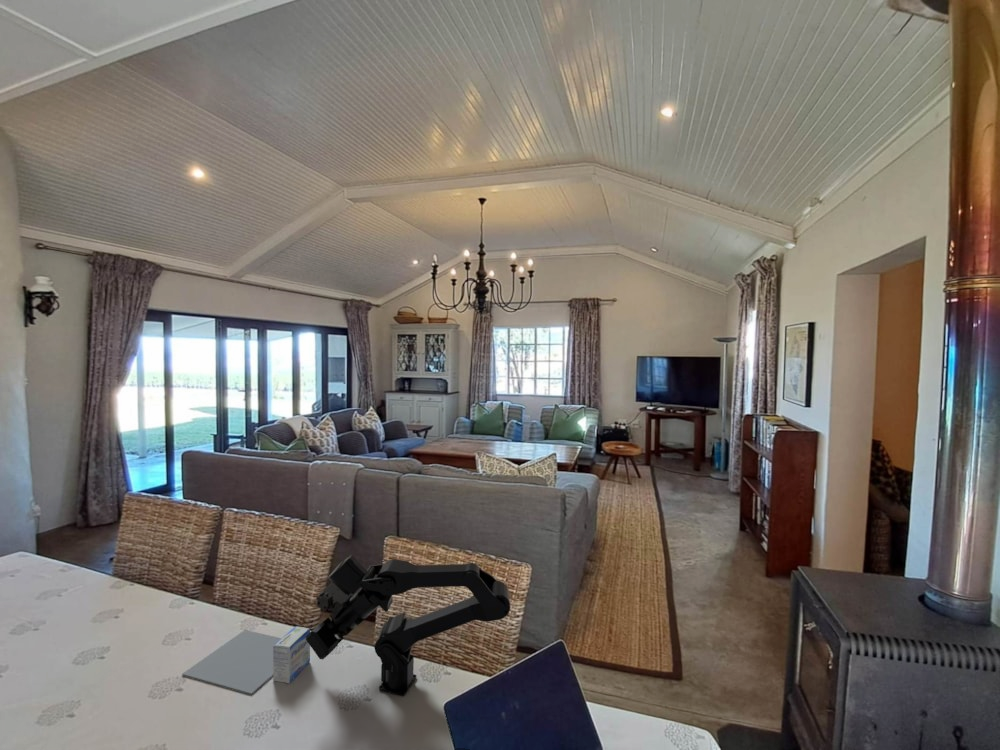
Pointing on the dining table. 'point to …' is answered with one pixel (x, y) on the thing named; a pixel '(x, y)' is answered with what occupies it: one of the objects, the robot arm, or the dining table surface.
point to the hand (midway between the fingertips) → (319, 642)
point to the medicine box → (291, 655)
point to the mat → (238, 663)
